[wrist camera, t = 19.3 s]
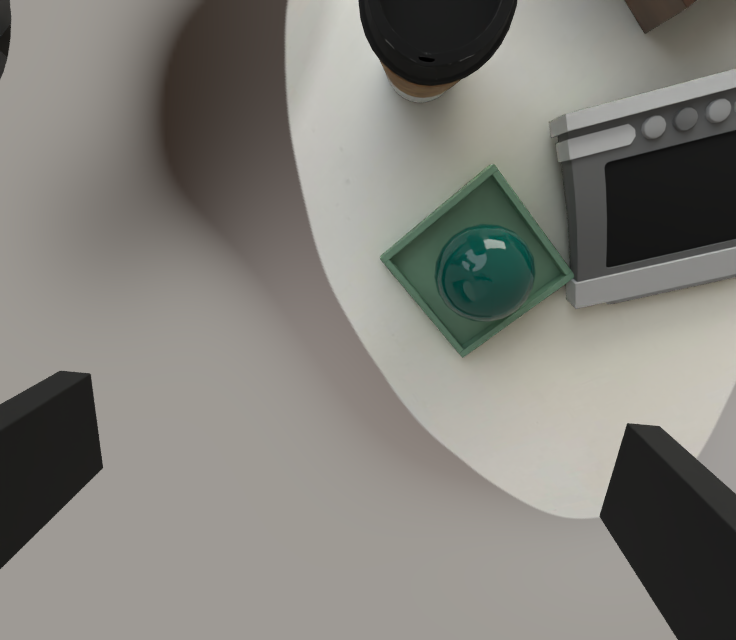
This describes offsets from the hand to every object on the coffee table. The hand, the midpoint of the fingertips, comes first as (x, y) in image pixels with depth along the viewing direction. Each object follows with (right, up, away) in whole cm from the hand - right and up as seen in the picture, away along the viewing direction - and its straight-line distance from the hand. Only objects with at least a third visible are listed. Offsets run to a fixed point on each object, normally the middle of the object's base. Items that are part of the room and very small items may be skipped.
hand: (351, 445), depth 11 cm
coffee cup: (+5, +24, +24) cm, 34 cm away
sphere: (+10, +8, +28) cm, 31 cm away
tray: (+10, +8, +28) cm, 31 cm away
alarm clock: (+25, +14, +26) cm, 39 cm away
